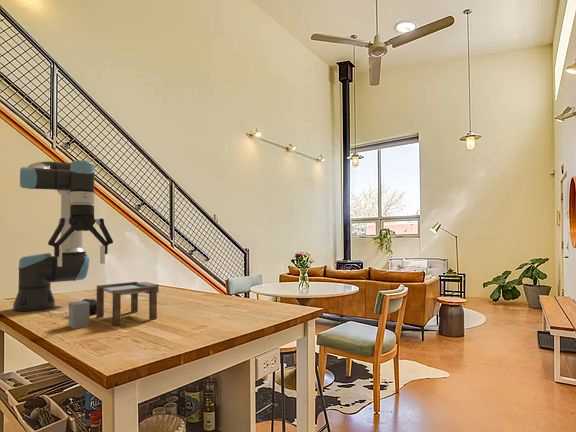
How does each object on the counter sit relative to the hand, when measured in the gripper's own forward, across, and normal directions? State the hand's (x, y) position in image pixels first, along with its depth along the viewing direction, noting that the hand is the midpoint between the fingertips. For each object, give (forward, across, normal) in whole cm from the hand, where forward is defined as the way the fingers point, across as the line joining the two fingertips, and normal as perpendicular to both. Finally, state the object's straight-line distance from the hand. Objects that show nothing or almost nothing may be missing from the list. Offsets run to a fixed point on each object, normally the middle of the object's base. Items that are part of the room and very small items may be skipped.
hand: (81, 265), depth 132 cm
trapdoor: (+12, +18, 0) cm, 21 cm away
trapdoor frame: (+21, +15, 0) cm, 26 cm away
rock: (+21, +9, +19) cm, 30 cm away
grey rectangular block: (+21, -1, 0) cm, 21 cm away
